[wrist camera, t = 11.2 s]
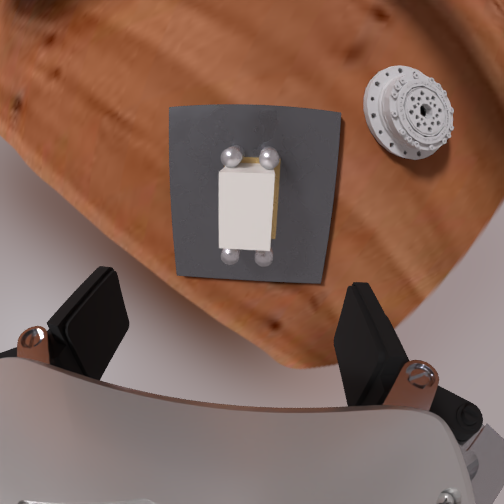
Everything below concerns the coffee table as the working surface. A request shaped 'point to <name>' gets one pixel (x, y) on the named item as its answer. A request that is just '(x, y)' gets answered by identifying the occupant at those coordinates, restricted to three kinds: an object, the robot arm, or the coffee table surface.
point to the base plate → (285, 187)
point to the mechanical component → (408, 112)
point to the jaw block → (246, 207)
